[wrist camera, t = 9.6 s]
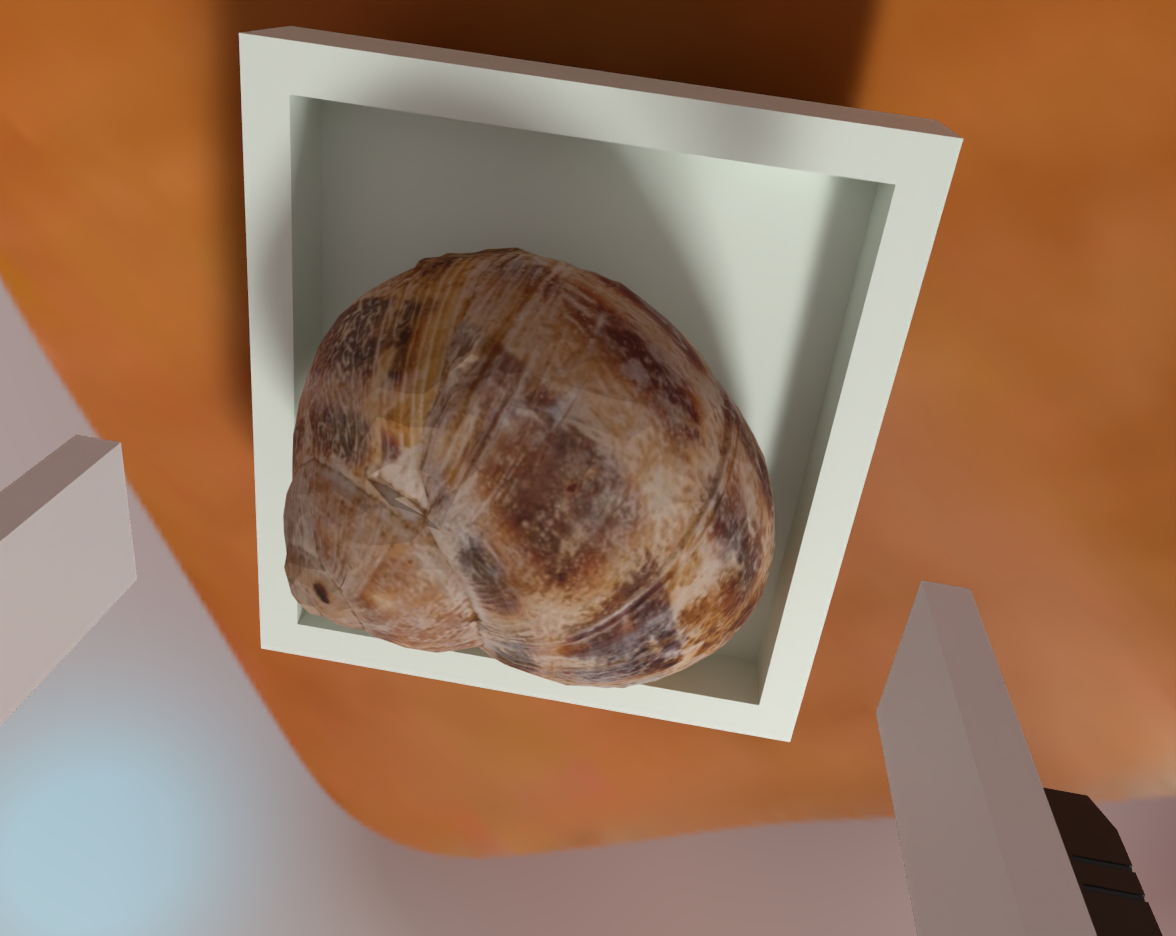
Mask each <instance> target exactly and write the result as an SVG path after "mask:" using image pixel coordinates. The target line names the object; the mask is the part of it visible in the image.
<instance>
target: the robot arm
mask: <svg viewBox="0 0 1176 936" xmlns="http://www.w3.org/2000/svg"><path fill="white" fill-rule="evenodd" d="M134 557H135V556H134V549H133V540H132V532H131V523H130V515H129V507H128V498H127V490H126V482H125V474H124V465H123V457H122V449H121V442H115V441H110V440H104V439H98V438H92V437H86V436H81V435H75V436H74V437H73V438H71V439H70V440H69V441H67V442H66V443H65V444H63V445H62V446H61V447H59V448H58V449H57V450H55V451H54V452H53V453H51V454H50V455H49V456H47V457H46V458H45V459H44V460H42V461H41V462H39V463H38V464H37V465H35V466H34V467H33V468H31V469H30V470H29V471H27V472H26V473H25V474H24V475H22V476H21V477H20V478H18V479H17V480H16V481H14V482H13V483H12V484H11V485H9V486H8V487H6V488H5V489H4V490H2V491H1V492H0V726H1V725H2V724H3V723H4V721H5V720H6V719H7V718H8V717H9V716H10V715H11V714H12V713H13V712H14V711H15V709H17V708H18V706H19V705H20V704H21V703H22V702H23V701H24V700H25V699H26V698H27V697H28V696H29V695H30V694H31V693H32V691H33V690H34V689H35V688H36V687H37V686H38V685H39V684H40V683H41V682H42V681H43V679H44V678H45V677H46V676H47V675H48V674H49V673H50V672H51V671H52V670H53V669H54V668H55V666H57V665H58V663H59V662H60V661H61V660H62V659H63V658H64V657H65V656H66V655H67V654H68V653H69V652H70V651H71V650H72V648H73V647H74V646H75V645H76V644H77V643H78V642H79V641H80V640H81V639H82V638H83V637H84V636H85V635H86V633H87V632H88V631H89V630H90V629H91V628H92V627H93V626H94V625H95V624H96V623H97V622H98V621H99V620H100V618H101V617H102V616H103V615H104V614H105V613H106V612H107V611H108V610H109V609H110V608H111V607H112V606H113V604H114V603H115V602H116V601H117V600H118V599H119V598H120V597H121V596H122V595H123V594H124V593H125V592H126V591H127V590H128V588H129V587H130V586H131V585H132V584H133V583H134V582H135V581H136V580H137V573H136V565H135V558H134ZM876 715H877V721H878V726H879V732H880V737H881V742H882V748H883V753H884V759H885V764H886V770H887V775H888V780H889V786H890V791H891V797H892V802H893V808H894V813H895V818H896V824H897V829H898V835H899V840H900V846H901V851H902V856H903V861H904V867H905V873H906V878H907V883H908V889H909V894H910V900H911V905H912V910H913V916H914V921H915V927H916V932H917V936H1162V933H1161V931H1160V929H1159V926H1158V924H1157V922H1156V919H1155V917H1154V915H1153V912H1152V910H1151V908H1150V906H1149V903H1148V902H1145V900H1144V896H1145V894H1144V892H1143V890H1142V887H1141V885H1140V882H1139V880H1138V878H1137V875H1136V873H1134V872H1132V864H1131V861H1130V859H1129V857H1128V854H1127V852H1126V850H1125V847H1124V845H1123V843H1122V841H1121V838H1120V836H1119V834H1118V831H1117V829H1116V828H1115V827H1114V826H1113V825H1112V824H1111V823H1110V821H1109V820H1108V819H1107V818H1106V817H1105V815H1104V814H1103V813H1102V812H1101V811H1100V810H1099V809H1098V807H1097V806H1096V805H1095V804H1094V803H1093V802H1092V800H1091V799H1090V798H1089V797H1088V796H1086V795H1081V794H1075V793H1070V792H1064V791H1059V790H1053V789H1048V788H1043V786H1042V784H1041V781H1040V778H1039V775H1038V773H1037V770H1036V767H1035V764H1034V762H1033V759H1032V756H1031V753H1030V751H1029V748H1028V745H1027V742H1026V740H1025V737H1024V734H1023V731H1022V729H1021V726H1020V723H1019V720H1018V718H1017V715H1016V712H1015V710H1014V707H1013V704H1012V701H1011V699H1010V696H1009V693H1008V690H1007V688H1006V685H1005V682H1004V679H1003V677H1002V674H1001V671H1000V668H999V666H998V663H997V660H996V657H995V655H994V652H993V649H992V646H991V644H990V641H989V638H988V635H987V633H986V630H985V627H984V625H983V622H982V619H981V616H980V614H979V611H978V608H977V605H976V603H975V600H974V597H973V594H972V592H971V589H968V588H963V587H957V586H951V585H945V584H939V583H934V582H928V581H922V580H921V583H920V586H919V589H918V592H917V595H916V598H915V601H914V603H913V606H912V609H911V612H910V615H909V618H908V621H907V624H906V627H905V629H904V632H903V635H902V638H901V641H900V644H899V647H898V650H897V653H896V656H895V658H894V661H893V664H892V667H891V670H890V673H889V676H888V679H887V682H886V684H885V687H884V690H883V693H882V696H881V699H880V702H879V705H878V708H877V711H876Z"/></svg>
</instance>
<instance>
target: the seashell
mask: <svg viewBox="0 0 1176 936" xmlns="http://www.w3.org/2000/svg"><path fill="white" fill-rule="evenodd" d="M283 522H284V537H285V545H286V553H287V555H286V560H285V565H284V569H285V572H286V576H287V580H288V583H289V587H290V590H291V594H292V596H293V597H294V598H295V599H296V600H297V602H298V603H299V604H300V605H301V606H302V607H303V608H304V609H305V610H306V611H308V612H309V613H310V614H313V615H317V616H321V617H325V618H327V619H328V620H330V621H332V622H334V623H336V624H338V625H342V626H345V627H348V628H354V629H360V630H365V631H366V632H368V633H370V634H371V635H373V636H374V637H377V638H379V639H382V640H385V641H388V642H391V643H394V644H396V645H399V646H402V647H405V648H411V649H417V650H423V651H429V652H435V653H440V652H447V651H454V650H461V649H468V648H473V647H478V648H480V649H482V650H483V651H485V652H486V653H487V654H488V655H489V656H491V657H493V658H495V659H496V660H498V661H500V662H501V663H503V664H505V665H507V666H510V667H513V668H516V669H519V670H521V671H524V672H527V673H530V674H533V675H536V676H539V677H541V678H545V679H548V680H551V681H555V682H558V683H561V684H564V685H571V686H592V687H600V688H613V687H616V688H625V687H629V686H633V685H639V684H644V683H649V682H654V681H657V680H659V679H662V678H664V677H666V676H669V675H671V674H674V673H676V672H679V671H681V670H684V669H686V668H688V667H689V666H691V665H693V664H695V663H697V662H698V661H700V660H702V659H704V658H705V657H707V656H709V655H711V654H712V653H714V652H715V651H717V650H718V649H719V648H721V647H722V646H724V645H725V644H726V643H727V642H728V641H729V640H730V639H731V638H732V636H733V635H734V634H735V633H736V632H737V631H738V630H739V629H740V628H741V627H742V626H743V625H744V624H745V622H746V621H747V619H748V618H749V616H750V615H751V613H752V611H753V610H754V608H755V607H756V605H757V603H758V602H759V600H760V598H761V596H762V593H763V590H764V587H765V584H766V581H767V578H768V575H769V572H770V568H771V564H772V559H773V554H774V549H775V522H774V501H773V494H772V487H771V480H770V475H769V472H768V468H767V465H766V461H765V458H764V455H763V453H762V451H761V449H760V447H759V445H758V443H757V441H756V438H755V436H754V434H753V433H752V431H751V429H750V427H749V425H748V424H747V422H746V420H745V419H744V417H743V415H742V413H741V412H740V410H739V408H738V407H737V406H736V404H735V403H734V402H733V400H732V399H731V398H730V396H729V395H728V393H727V392H726V390H725V389H724V388H723V387H722V385H721V384H720V383H719V382H718V380H717V379H716V378H715V377H714V375H713V373H712V372H711V370H710V368H709V366H708V365H707V363H706V361H705V360H704V358H703V356H702V355H701V353H700V352H699V351H698V350H697V349H696V348H695V347H694V346H693V345H692V344H691V343H690V342H689V341H688V339H687V338H686V337H685V336H684V335H683V334H682V333H681V332H680V331H679V330H678V329H677V328H676V327H675V326H674V325H673V324H672V323H671V322H670V321H669V320H668V319H667V318H665V317H664V316H663V315H662V314H660V313H659V312H658V311H657V310H656V309H654V308H653V307H652V306H651V305H649V304H648V303H647V302H646V301H644V300H643V299H642V298H641V297H639V296H638V295H637V294H635V293H634V292H633V291H631V290H630V289H629V288H627V287H626V286H625V285H623V284H622V283H621V282H617V281H613V280H610V279H608V278H606V277H604V276H602V275H600V274H598V273H595V272H593V271H588V270H583V269H579V268H577V267H575V266H573V265H571V264H569V263H567V262H565V261H561V260H556V259H552V258H547V257H542V256H539V255H536V254H533V253H530V252H527V251H525V250H523V249H520V248H518V247H516V248H501V249H486V250H482V251H479V252H475V253H446V254H444V255H442V256H440V257H430V258H423V259H421V260H420V261H419V262H418V263H417V265H416V267H414V268H412V269H410V270H408V271H405V272H403V273H401V274H399V275H397V276H395V277H393V278H391V279H389V280H387V281H385V282H383V283H381V284H379V285H378V286H376V287H374V288H373V289H371V290H369V291H368V292H366V293H365V294H363V295H361V296H360V297H359V298H358V299H357V300H356V301H355V302H353V303H352V304H351V305H350V306H349V307H348V308H347V309H346V310H344V311H343V312H342V313H341V314H340V315H339V316H338V318H337V319H336V321H335V322H334V324H333V325H332V327H331V328H330V330H329V331H328V333H327V334H326V336H325V337H324V339H323V340H322V342H321V343H320V345H319V347H318V349H317V351H316V354H315V357H314V359H313V362H312V364H311V367H310V369H309V372H308V375H307V378H306V381H305V384H304V387H303V391H302V394H301V397H300V400H299V406H298V412H297V418H296V423H295V428H294V432H293V454H292V482H291V484H290V487H289V489H288V491H287V494H286V500H285V507H284V514H283Z"/></svg>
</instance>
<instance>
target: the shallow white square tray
mask: <svg viewBox="0 0 1176 936" xmlns="http://www.w3.org/2000/svg"><path fill="white" fill-rule="evenodd" d="M239 52H240V80H241V108H242V135H243V163H244V191H245V218H246V246H247V274H248V301H249V329H250V357H251V384H252V412H253V440H254V467H255V495H256V523H257V550H258V578H259V606H260V633H261V648H262V649H268V650H273V651H279V652H285V653H290V654H296V655H302V656H307V657H313V658H319V659H324V660H330V661H335V662H341V663H347V664H352V665H358V666H364V667H369V668H375V669H381V670H386V671H392V672H397V673H403V674H409V675H414V676H420V677H426V678H431V679H437V680H443V681H448V682H454V683H459V684H465V685H471V686H476V687H482V688H488V689H493V690H499V691H504V692H510V693H516V694H521V695H527V696H533V697H538V698H544V699H550V700H555V701H561V702H566V703H572V704H578V705H583V706H589V707H595V708H600V709H606V710H612V711H617V712H623V713H628V714H634V715H640V716H645V717H651V718H657V719H662V720H668V721H674V722H679V723H685V724H690V725H696V726H702V727H707V728H713V729H719V730H724V731H730V732H736V733H741V734H747V735H752V736H758V737H764V738H769V739H775V740H781V741H786V742H790V740H791V737H792V733H793V730H794V726H795V723H796V719H797V716H798V712H799V709H800V705H801V702H802V698H803V695H804V692H805V688H806V685H807V681H808V678H809V674H810V671H811V667H812V664H813V660H814V657H815V653H816V650H817V646H818V643H819V639H820V636H821V632H822V629H823V625H824V622H825V618H826V615H827V611H828V608H829V605H830V601H831V598H832V594H833V591H834V587H835V584H836V580H837V577H838V573H839V570H840V566H841V563H842V559H843V556H844V552H845V549H846V545H847V542H848V538H849V535H850V531H851V528H852V524H853V521H854V518H855V514H856V511H857V507H858V504H859V500H860V497H861V493H862V490H863V486H864V483H865V479H866V476H867V472H868V469H869V465H870V462H871V458H872V455H873V451H874V448H875V444H876V441H877V437H878V434H879V431H880V427H881V424H882V420H883V417H884V413H885V410H886V406H887V403H888V399H889V396H890V392H891V389H892V385H893V382H894V378H895V375H896V371H897V368H898V364H899V361H900V357H901V354H902V350H903V347H904V344H905V340H906V337H907V333H908V330H909V326H910V323H911V319H912V316H913V312H914V309H915V305H916V302H917V298H918V295H919V291H920V288H921V284H922V281H923V277H924V274H925V270H926V267H927V263H928V260H929V256H930V253H931V250H932V246H933V243H934V239H935V236H936V232H937V229H938V225H939V222H940V218H941V215H942V211H943V208H944V204H945V201H946V197H947V194H948V190H949V187H950V183H951V180H952V176H953V173H954V169H955V166H956V163H957V159H958V156H959V152H960V149H961V145H962V142H963V138H962V137H960V136H959V135H957V134H956V133H955V132H953V131H952V130H950V129H949V128H947V127H946V126H945V125H943V124H942V123H940V122H939V121H937V120H934V119H927V118H921V117H914V116H907V115H900V114H893V113H886V112H879V111H872V110H866V109H859V108H852V107H845V106H838V105H831V104H824V103H818V102H811V101H804V100H797V99H790V98H783V97H776V96H769V95H763V94H756V93H749V92H742V91H735V90H728V89H721V88H714V87H708V86H701V85H694V84H687V83H680V82H673V81H666V80H659V79H653V78H646V77H639V76H632V75H625V74H618V73H611V72H604V71H598V70H591V69H584V68H577V67H570V66H563V65H556V64H549V63H543V62H536V61H529V60H522V59H515V58H508V57H501V56H494V55H488V54H481V53H474V52H467V51H460V50H453V49H446V48H439V47H433V46H426V45H419V44H412V43H405V42H398V41H391V40H384V39H378V38H371V37H364V36H357V35H350V34H343V33H336V32H329V31H323V30H316V29H309V28H302V27H295V26H285V27H278V28H270V29H263V30H255V31H248V32H240V33H239ZM516 247H518V248H520V249H523V250H525V251H527V252H530V253H533V254H536V255H539V256H542V257H547V258H552V259H556V260H561V261H565V262H567V263H569V264H571V265H573V266H575V267H577V268H579V269H583V270H588V271H593V272H595V273H598V274H600V275H602V276H604V277H606V278H608V279H610V280H613V281H617V282H621V283H622V284H623V285H625V286H626V287H627V288H629V289H630V290H631V291H633V292H634V293H635V294H637V295H638V296H639V297H641V298H642V299H643V300H644V301H646V302H647V303H648V304H649V305H651V306H652V307H653V308H654V309H656V310H657V311H658V312H659V313H660V314H662V315H663V316H664V317H665V318H667V319H668V320H669V321H670V322H671V323H672V324H673V325H674V326H675V327H676V328H677V329H678V330H679V331H680V332H681V333H682V334H683V335H684V336H685V337H686V338H687V339H688V341H689V342H690V343H691V344H692V345H693V346H694V347H695V348H696V349H697V350H698V351H699V352H700V353H701V355H702V356H703V358H704V360H705V361H706V363H707V365H708V366H709V368H710V370H711V372H712V373H713V375H714V377H715V378H716V379H717V380H718V382H719V383H720V384H721V385H722V387H723V388H724V389H725V390H726V392H727V393H728V395H729V396H730V398H731V399H732V400H733V402H734V403H735V404H736V406H737V407H738V408H739V410H740V412H741V413H742V415H743V417H744V419H745V420H746V422H747V424H748V425H749V427H750V429H751V431H752V433H753V434H754V436H755V438H756V441H757V443H758V445H759V447H760V449H761V451H762V453H763V455H764V458H765V461H766V465H767V468H768V472H769V475H770V480H771V487H772V494H773V501H774V522H775V549H774V554H773V559H772V564H771V568H770V572H769V575H768V578H767V581H766V584H765V587H764V590H763V593H762V596H761V598H760V600H759V602H758V603H757V605H756V607H755V608H754V610H753V611H752V613H751V615H750V616H749V618H748V619H747V621H746V622H745V624H744V625H743V626H742V627H741V628H740V629H739V630H738V631H737V632H736V633H735V634H734V635H733V636H732V638H731V639H730V640H729V641H728V642H727V643H726V644H725V645H724V646H722V647H721V648H719V649H718V650H717V651H715V652H714V653H712V654H711V655H709V656H707V657H705V658H704V659H702V660H700V661H698V662H697V663H695V664H693V665H691V666H689V667H688V668H686V669H684V670H681V671H679V672H676V673H674V674H671V675H669V676H666V677H664V678H662V679H659V680H657V681H654V682H649V683H644V684H639V685H633V686H629V687H625V688H616V687H613V688H600V687H592V686H571V685H564V684H561V683H558V682H555V681H551V680H548V679H545V678H541V677H539V676H536V675H533V674H530V673H527V672H524V671H521V670H519V669H516V668H513V667H510V666H507V665H505V664H503V663H501V662H500V661H498V660H496V659H495V658H493V657H491V656H489V655H488V654H487V653H486V652H485V651H483V650H482V649H480V648H478V647H473V648H468V649H461V650H454V651H447V652H440V653H435V652H429V651H423V650H417V649H411V648H405V647H402V646H399V645H396V644H394V643H391V642H388V641H385V640H382V639H379V638H377V637H374V636H373V635H371V634H370V633H368V632H366V631H365V630H360V629H354V628H348V627H345V626H342V625H338V624H336V623H334V622H332V621H330V620H328V619H327V618H325V617H321V616H317V615H313V614H310V613H309V612H308V611H306V610H305V609H304V608H303V607H302V606H301V605H300V604H299V603H298V602H297V600H296V599H295V598H294V597H293V596H292V594H291V590H290V587H289V583H288V580H287V576H286V572H285V569H284V565H285V560H286V555H287V553H286V545H285V537H284V522H283V514H284V507H285V500H286V494H287V491H288V489H289V487H290V484H291V482H292V454H293V432H294V428H295V423H296V418H297V412H298V406H299V400H300V397H301V394H302V391H303V387H304V384H305V381H306V378H307V375H308V372H309V369H310V367H311V364H312V362H313V359H314V357H315V354H316V351H317V349H318V347H319V345H320V343H321V342H322V340H323V339H324V337H325V336H326V334H327V333H328V331H329V330H330V328H331V327H332V325H333V324H334V322H335V321H336V319H337V318H338V316H339V315H340V314H341V313H342V312H343V311H344V310H346V309H347V308H348V307H349V306H350V305H351V304H352V303H353V302H355V301H356V300H357V299H358V298H359V297H360V296H361V295H363V294H365V293H366V292H368V291H369V290H371V289H373V288H374V287H376V286H378V285H379V284H381V283H383V282H385V281H387V280H389V279H391V278H393V277H395V276H397V275H399V274H401V273H403V272H405V271H408V270H410V269H412V268H414V267H416V265H417V263H418V262H419V261H420V260H421V259H423V258H430V257H440V256H442V255H444V254H446V253H475V252H479V251H482V250H486V249H501V248H516Z"/></svg>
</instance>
